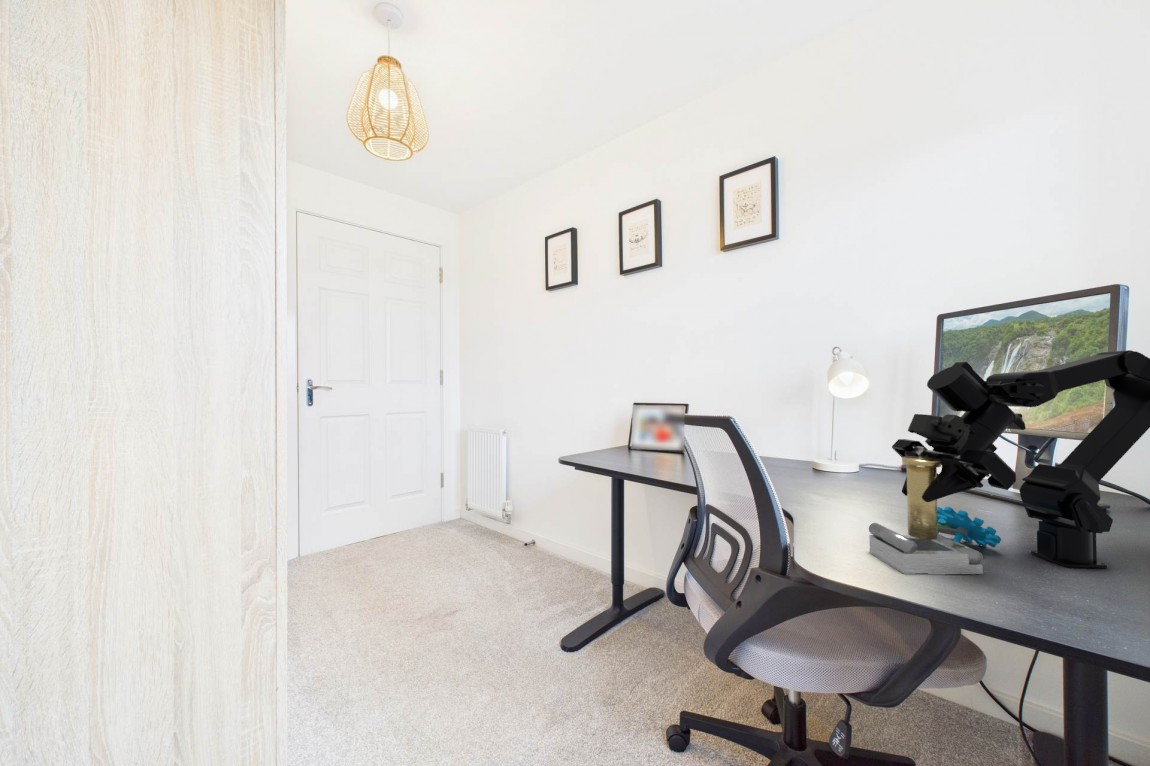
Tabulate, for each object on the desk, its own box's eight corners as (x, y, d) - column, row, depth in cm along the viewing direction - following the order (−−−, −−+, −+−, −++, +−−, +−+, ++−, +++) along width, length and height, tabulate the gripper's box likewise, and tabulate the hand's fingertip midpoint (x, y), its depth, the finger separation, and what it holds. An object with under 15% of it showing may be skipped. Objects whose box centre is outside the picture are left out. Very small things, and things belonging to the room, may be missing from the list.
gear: (1017, 546, 78) (976, 507, 78) (1001, 573, 77) (959, 533, 77) (955, 534, 89) (919, 500, 89) (940, 558, 88) (903, 523, 88)
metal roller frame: (940, 553, 79) (939, 523, 79) (983, 575, 70) (982, 540, 70) (869, 552, 80) (868, 522, 80) (903, 573, 71) (902, 539, 71)
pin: (936, 532, 77) (934, 457, 77) (947, 542, 72) (946, 462, 72) (899, 529, 79) (898, 455, 79) (908, 538, 74) (907, 460, 74)
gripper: (900, 396, 85) (845, 455, 84) (995, 398, 66) (925, 474, 66) (941, 437, 85) (886, 496, 85) (1048, 450, 66) (978, 526, 66)
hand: (913, 497), depth 75 cm, fingers closed on pin, 4 cm apart
